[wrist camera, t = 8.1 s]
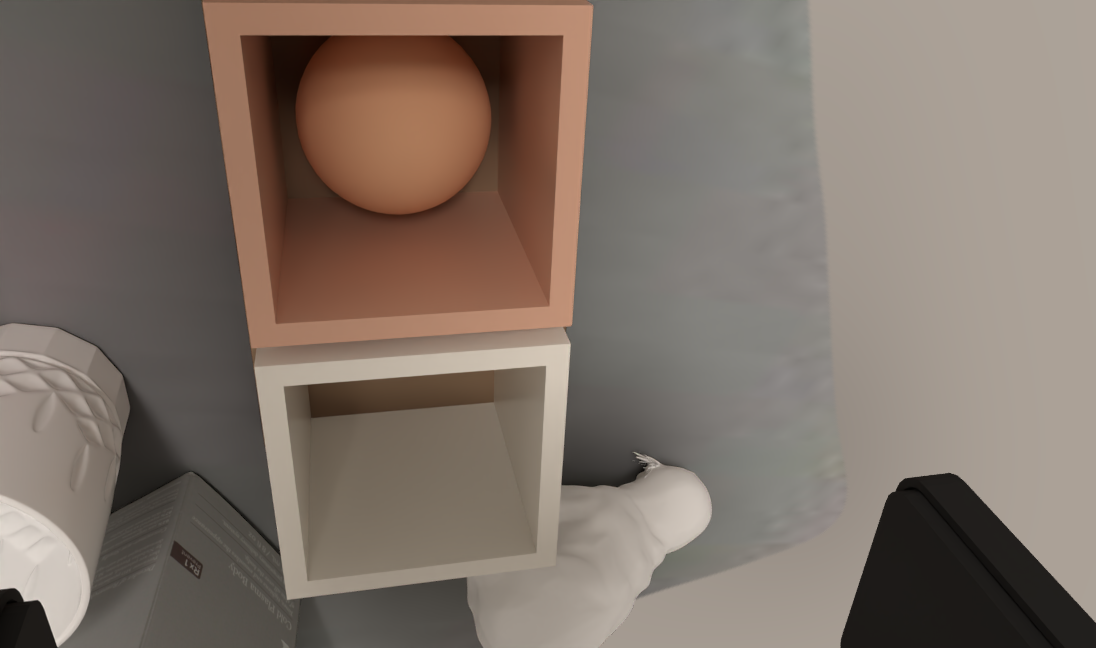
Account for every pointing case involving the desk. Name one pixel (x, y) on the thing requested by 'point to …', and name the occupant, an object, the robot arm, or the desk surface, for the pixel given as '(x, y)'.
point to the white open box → (415, 462)
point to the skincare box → (186, 578)
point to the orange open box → (423, 237)
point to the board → (305, 183)
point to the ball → (393, 119)
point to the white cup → (56, 466)
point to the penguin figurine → (592, 562)
